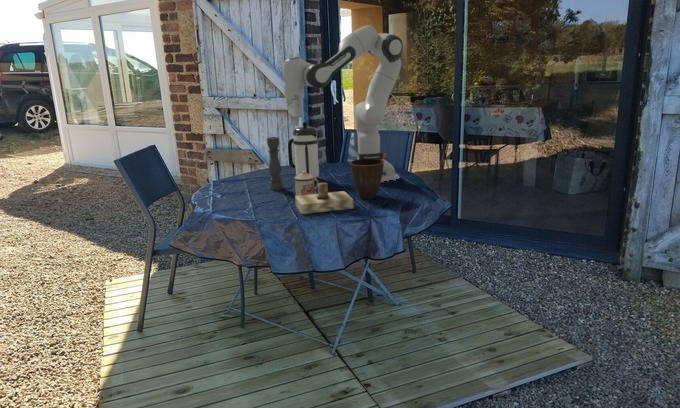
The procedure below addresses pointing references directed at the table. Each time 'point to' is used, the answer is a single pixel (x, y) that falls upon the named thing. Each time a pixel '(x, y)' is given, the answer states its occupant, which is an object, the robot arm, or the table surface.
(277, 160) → the candle holder
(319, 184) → the peg
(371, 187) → the plant pot
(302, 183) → the teacup with lid
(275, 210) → the table surface
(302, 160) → the coffee press
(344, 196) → the block
